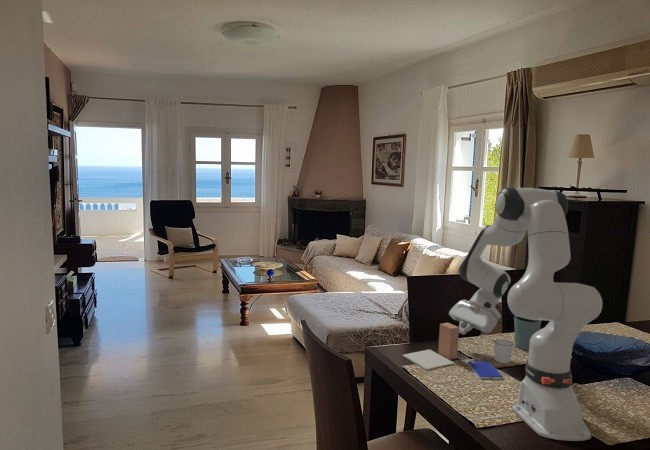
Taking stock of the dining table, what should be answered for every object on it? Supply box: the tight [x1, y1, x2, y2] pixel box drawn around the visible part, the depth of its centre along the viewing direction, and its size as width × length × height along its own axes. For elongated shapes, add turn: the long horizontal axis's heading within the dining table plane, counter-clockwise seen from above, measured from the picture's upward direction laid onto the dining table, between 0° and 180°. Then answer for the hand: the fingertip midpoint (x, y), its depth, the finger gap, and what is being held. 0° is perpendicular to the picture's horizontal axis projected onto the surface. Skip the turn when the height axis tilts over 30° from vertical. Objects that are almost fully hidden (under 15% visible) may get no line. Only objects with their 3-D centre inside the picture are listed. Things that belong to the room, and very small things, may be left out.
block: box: [437, 322, 460, 361], centre depth 180 cm, size 6×4×12 cm, turn 28°
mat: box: [402, 349, 456, 371], centre depth 177 cm, size 14×13×1 cm
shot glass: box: [493, 339, 515, 364], centre depth 178 cm, size 7×7×7 cm
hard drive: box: [467, 360, 504, 380], centre depth 168 cm, size 2×8×12 cm
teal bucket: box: [513, 315, 542, 352], centre depth 192 cm, size 10×10×12 cm
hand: (460, 332), depth 183 cm, fingers closed
